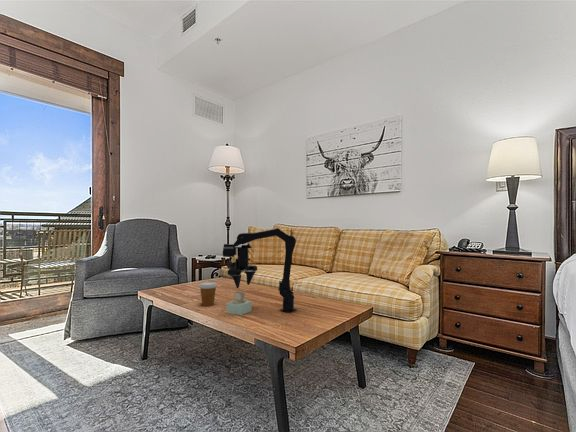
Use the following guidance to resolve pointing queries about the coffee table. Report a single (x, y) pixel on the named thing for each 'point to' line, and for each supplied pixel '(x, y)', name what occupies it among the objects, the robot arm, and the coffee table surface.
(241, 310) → the green square frame
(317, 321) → the coffee table surface
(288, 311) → the robot arm
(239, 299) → the beige rectangular block
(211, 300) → the disposable coffee cup
